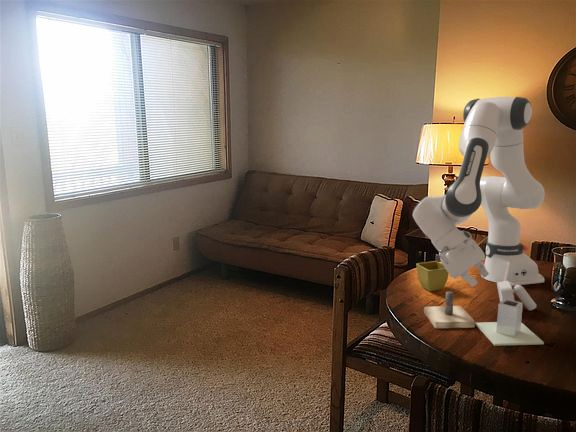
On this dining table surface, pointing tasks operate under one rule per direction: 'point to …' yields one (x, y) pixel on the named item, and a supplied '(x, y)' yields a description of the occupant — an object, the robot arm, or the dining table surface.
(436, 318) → the peg stand
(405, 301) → the dining table surface
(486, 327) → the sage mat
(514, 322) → the steel sleeve
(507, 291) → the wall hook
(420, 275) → the flower pot
